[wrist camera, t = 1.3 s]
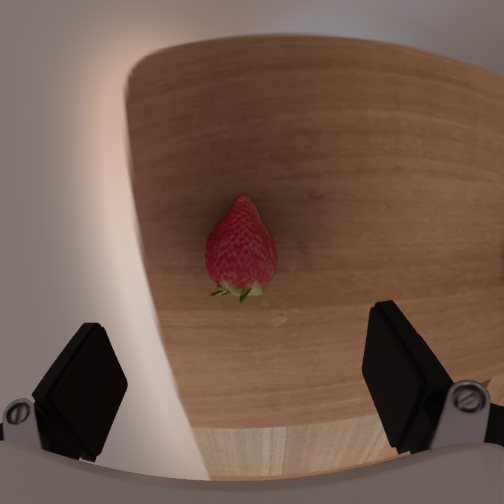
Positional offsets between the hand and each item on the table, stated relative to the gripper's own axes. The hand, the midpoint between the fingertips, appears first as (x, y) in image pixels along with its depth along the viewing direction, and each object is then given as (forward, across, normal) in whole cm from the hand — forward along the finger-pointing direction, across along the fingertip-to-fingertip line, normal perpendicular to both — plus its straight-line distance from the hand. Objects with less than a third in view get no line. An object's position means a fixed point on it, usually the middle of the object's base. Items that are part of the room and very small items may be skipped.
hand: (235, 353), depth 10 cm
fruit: (+11, 0, -1) cm, 11 cm away
